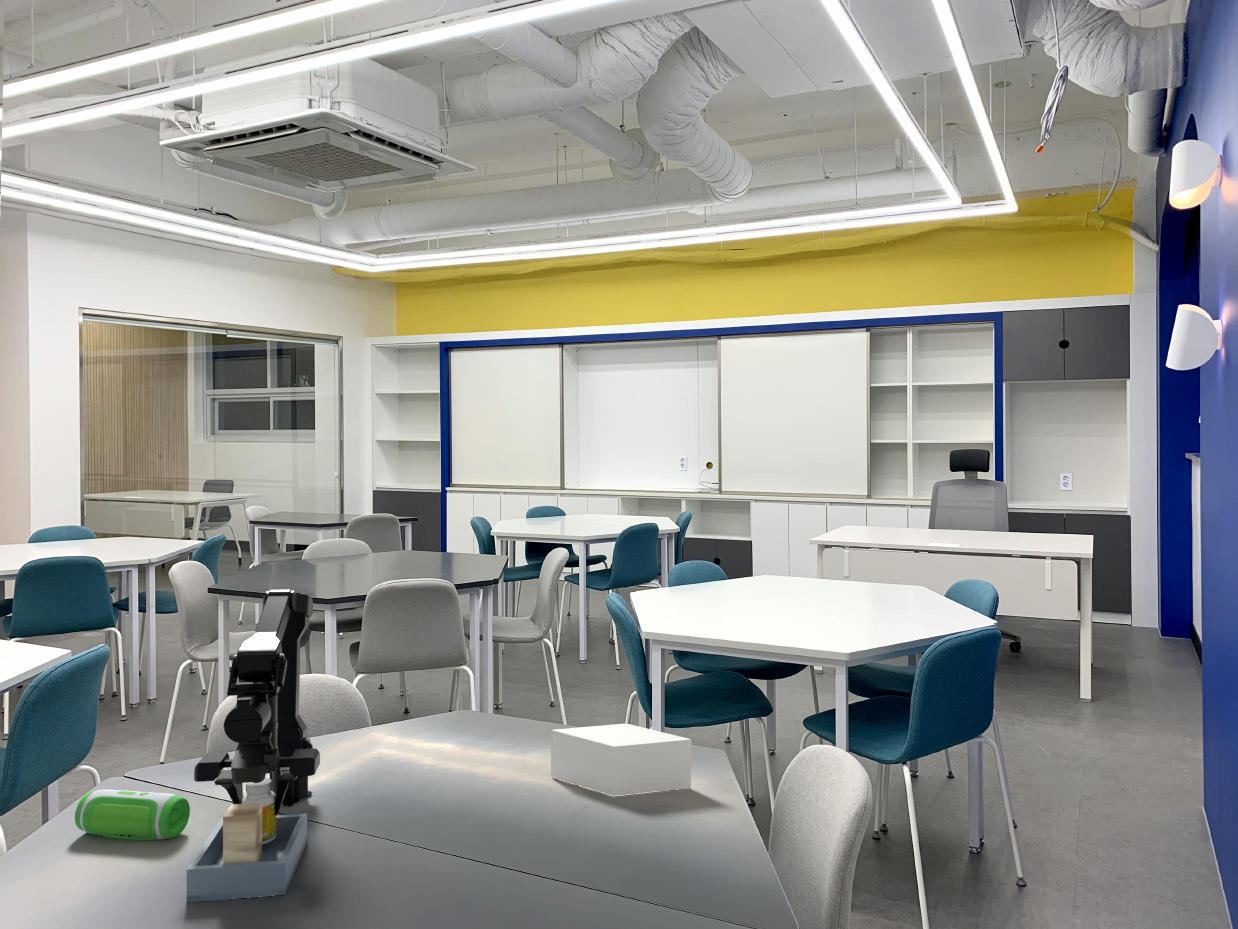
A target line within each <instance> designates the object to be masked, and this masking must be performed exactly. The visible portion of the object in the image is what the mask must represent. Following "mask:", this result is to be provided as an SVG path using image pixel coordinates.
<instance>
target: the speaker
mask: <svg viewBox="0 0 1238 929" xmlns="http://www.w3.org/2000/svg"><path fill="white" fill-rule="evenodd" d="M190 807H191V806H190V803H189V801H188V799H187V798H185V797H183V796H181V795H177V794H174V793H169V792H167V793H165V792H154V791H153V792H151V791H139V790H137V791H136V790H123V789H98V790H93V791H90V792H87V793H86V794H85V795H84V796H82V798H81V799H80V800H79V802H78V804H77V806H76V808H75V812H74V823H75V826H76V828H78V829H79V830H81V831H82V832H85V833H88V834H92V835H95V836H96V835H97V836H102V837H105V838H113V839H114V838H115V839H126V840H139V841H151V840H167V839H172V838H175V837H178V836H179V835H181V834H182V833H183V831H184V830H185V829H186V826H187V825H188V822H189V818H190V815H191V808H190Z"/></svg>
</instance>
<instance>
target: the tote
mask: <svg viewBox="0 0 1238 929" xmlns="http://www.w3.org/2000/svg"><path fill="white" fill-rule="evenodd" d="M307 843H308V813H297V814H295V813H294V814H293V813H292V814H278V815H276V837H275V839H274V840H273V841H271V842H269V843H266V844H263V845H262V862H249V863H234V864H223V818H220V819H219V821H218V822H217V824H216V825H215V827H214V828H213V830H212V831H211V833H210V834H209V836H208V837H207V839H206V840H205V842H204V843H203V844H202V846H201V847H200V849H199V851H198V852H197V854H196V855H195V857H194V858H193V860H192V861H191V862H190V864H189V865H188V867H187V868H186V903H187V902H188V903H189V902H191V903H202V902H203V901H205V902H215V900H218V901H228V900H230V899H232V900H240V899H239V898H246V899H249V898H248V897H251V898H250V899H253V898H252V897H259V896H260V897H259V898H262V897H261V896H272V895H285V894H287V892H288V890H289V887H290V885H291V882H292V880H293V878H292V877H294V875H295V873H296V870H297V868H298V866H297V865H299V863H300V861H301V859H302V855H303V854H304V850H305V848H306V846H307ZM289 884H290V885H289ZM287 889H288V890H287ZM285 896H286V895H285ZM237 898H238V899H237ZM209 900H210V901H209ZM197 901H198V902H197ZM201 901H202V902H201ZM230 901H231V900H230ZM203 903H204V902H203ZM189 904H190V903H189Z"/></svg>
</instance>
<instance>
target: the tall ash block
mask: <svg viewBox="0 0 1238 929" xmlns="http://www.w3.org/2000/svg"><path fill="white" fill-rule="evenodd" d="M222 819H223V864H234V863H249V862H262V803H248V804H233V803H231V804H230V806H229V807H228V809H227V810H226V811H225V813H224V814H223V816H222Z"/></svg>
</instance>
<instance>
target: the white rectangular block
mask: <svg viewBox="0 0 1238 929" xmlns="http://www.w3.org/2000/svg"><path fill="white" fill-rule="evenodd" d="M551 776H552V777H555V778H557V779H561V780H564V781H566V782H570V783H574V784H577V785H581V786H583V787H588V788H591V789H594V790H597V791H600V792H604V793H607V794H610V795H613V796H614V795H626V794H635V793H643V792H651V791H652V792H653V791H667V790H676V789H686V790H690V789H689V788H692V739H691V738H688V737H684V736H679V735H675V734H673V733H672V734H671V733H667V732H662V731H658V730H655V729H652V728H651V729H650V728H646V727H642V726H639V725H635V724H629V723H617V724H616V723H615V724H605V725H593V726H581V727H572V728H571V727H570V728H559V729H558V728H557V729H551V730H550V777H551Z"/></svg>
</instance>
